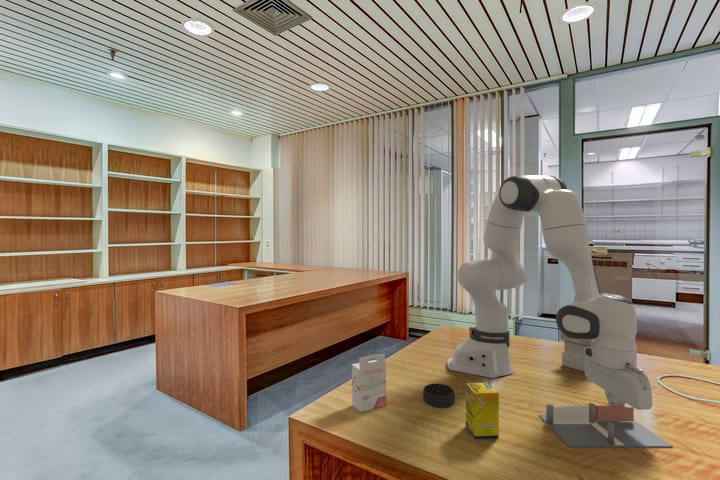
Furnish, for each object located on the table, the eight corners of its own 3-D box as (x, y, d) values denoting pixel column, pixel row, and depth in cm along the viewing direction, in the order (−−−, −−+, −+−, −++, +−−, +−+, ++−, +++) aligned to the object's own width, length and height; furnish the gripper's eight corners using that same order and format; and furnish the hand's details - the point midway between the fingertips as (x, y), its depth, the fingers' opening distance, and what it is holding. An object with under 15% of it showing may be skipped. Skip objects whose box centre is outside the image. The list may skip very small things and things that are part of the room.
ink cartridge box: (377, 399, 106) (377, 348, 106) (386, 406, 102) (386, 353, 102) (351, 405, 102) (351, 353, 102) (359, 413, 98) (359, 358, 98)
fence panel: (597, 421, 92) (597, 407, 92) (595, 419, 93) (595, 405, 93) (633, 421, 92) (633, 407, 92) (630, 419, 93) (630, 405, 93)
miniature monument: (604, 367, 132) (605, 284, 132) (591, 373, 126) (591, 286, 126) (574, 359, 141) (574, 281, 140) (560, 365, 135) (560, 283, 134)
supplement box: (464, 426, 91) (465, 382, 91) (488, 425, 91) (488, 382, 91) (474, 440, 85) (474, 393, 85) (499, 438, 86) (499, 392, 85)
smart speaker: (456, 398, 107) (456, 384, 107) (453, 412, 99) (453, 397, 99) (425, 394, 110) (425, 380, 110) (420, 407, 102) (420, 392, 102)
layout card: (570, 447, 82) (570, 445, 82) (538, 415, 96) (538, 414, 96) (672, 447, 82) (672, 445, 82) (625, 415, 96) (625, 414, 96)
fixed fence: (568, 445, 83) (568, 423, 83) (545, 421, 93) (545, 403, 93) (621, 445, 83) (621, 423, 83) (592, 421, 93) (592, 403, 93)
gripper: (660, 372, 84) (660, 431, 84) (601, 346, 105) (601, 394, 105) (633, 372, 84) (633, 432, 84) (579, 346, 105) (579, 394, 105)
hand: (615, 410), depth 95 cm, fingers closed
